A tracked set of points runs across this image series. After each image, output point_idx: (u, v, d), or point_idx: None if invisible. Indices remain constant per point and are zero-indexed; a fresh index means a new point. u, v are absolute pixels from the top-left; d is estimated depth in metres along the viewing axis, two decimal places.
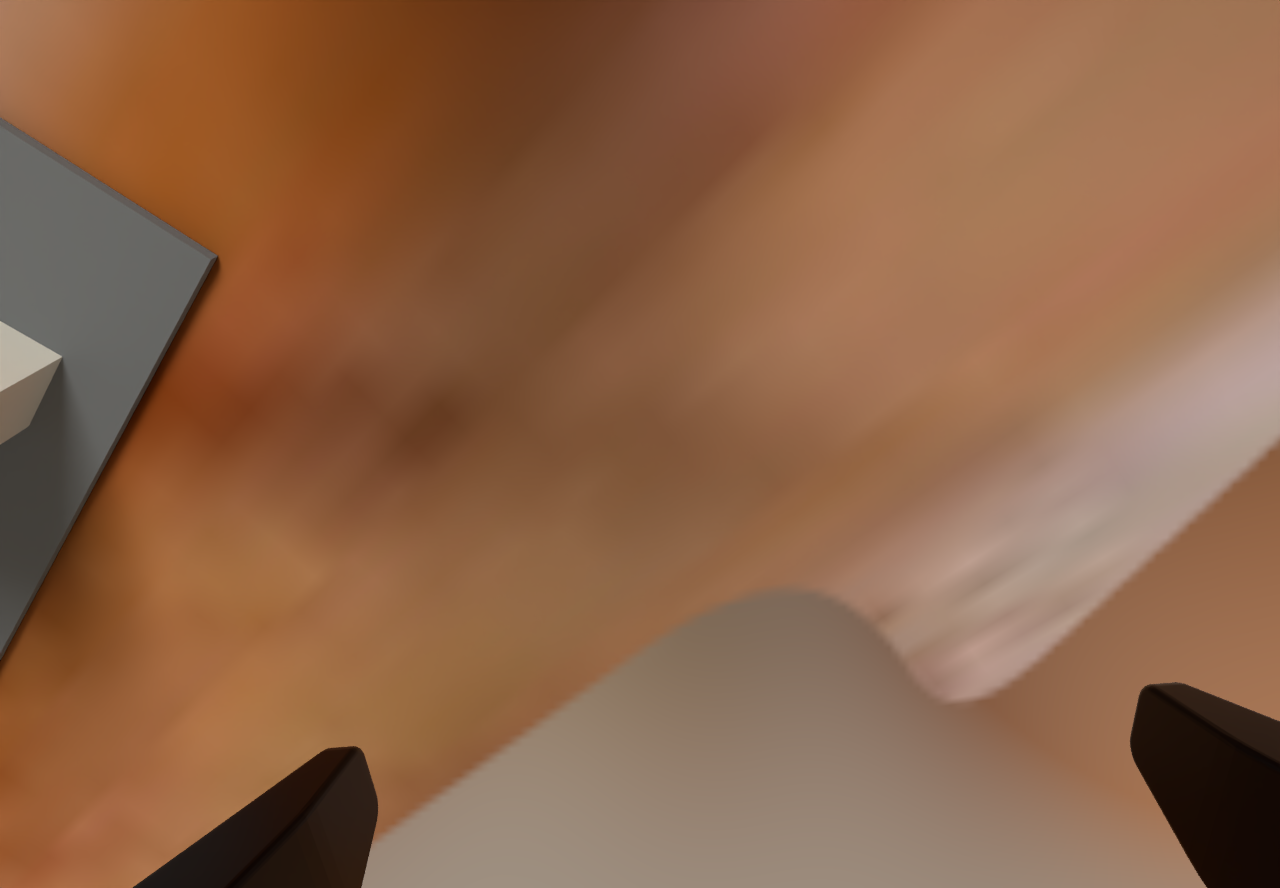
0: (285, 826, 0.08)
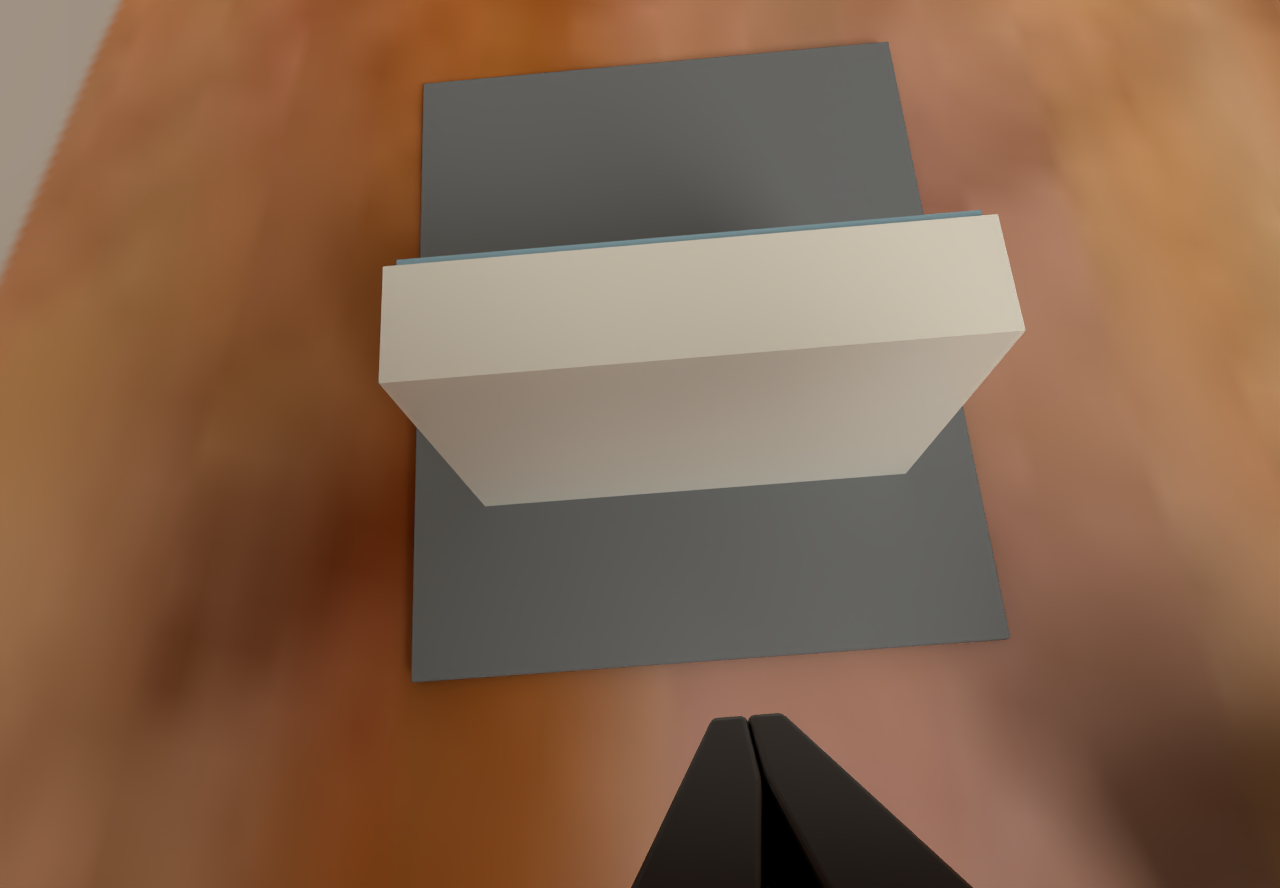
0: (753, 791, 0.08)
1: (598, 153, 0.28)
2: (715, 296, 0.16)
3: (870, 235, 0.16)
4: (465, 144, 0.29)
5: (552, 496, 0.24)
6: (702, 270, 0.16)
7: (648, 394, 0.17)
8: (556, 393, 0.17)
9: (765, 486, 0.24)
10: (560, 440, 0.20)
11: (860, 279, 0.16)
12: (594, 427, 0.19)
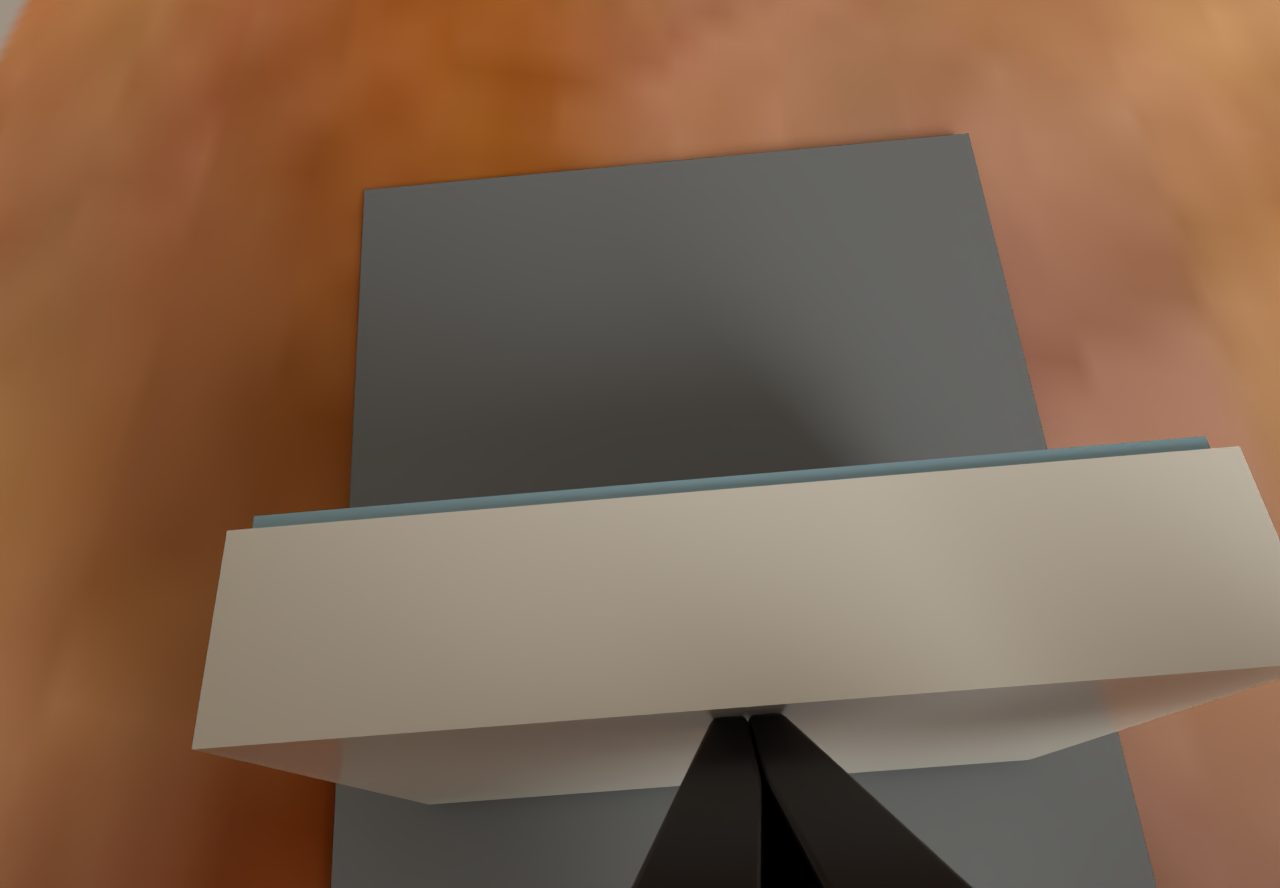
0: (753, 791, 0.08)
1: (591, 285, 0.21)
2: (776, 590, 0.10)
3: (1030, 482, 0.10)
4: (416, 272, 0.22)
5: (523, 795, 0.17)
6: (752, 542, 0.10)
7: (662, 735, 0.10)
8: (506, 741, 0.10)
9: None
10: (525, 767, 0.13)
11: (1022, 561, 0.09)
12: (575, 758, 0.12)
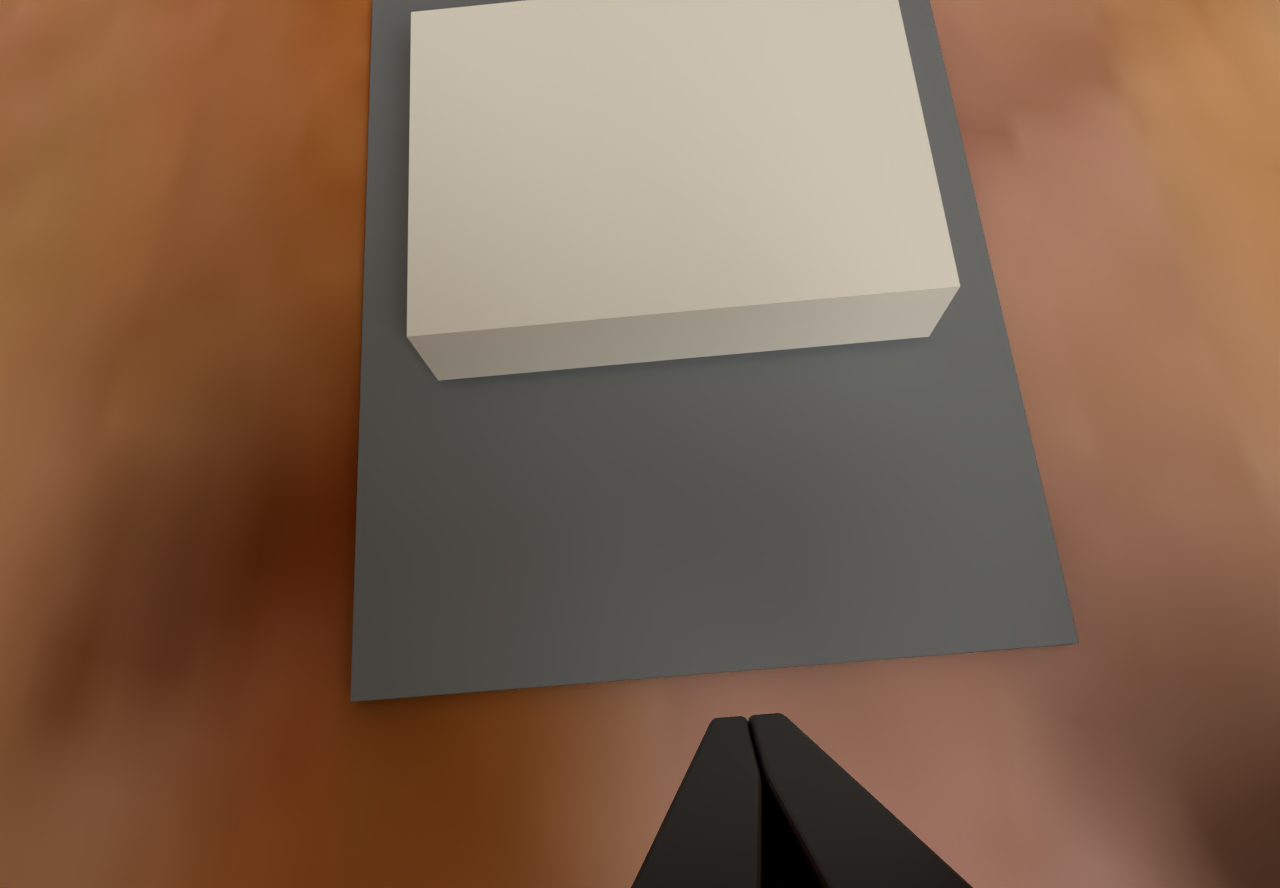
0: (753, 791, 0.08)
1: None
2: None
3: None
4: None
5: (497, 308, 0.19)
6: None
7: (613, 43, 0.21)
8: (537, 35, 0.21)
9: (778, 461, 0.20)
10: (530, 131, 0.20)
11: None
12: (563, 104, 0.20)
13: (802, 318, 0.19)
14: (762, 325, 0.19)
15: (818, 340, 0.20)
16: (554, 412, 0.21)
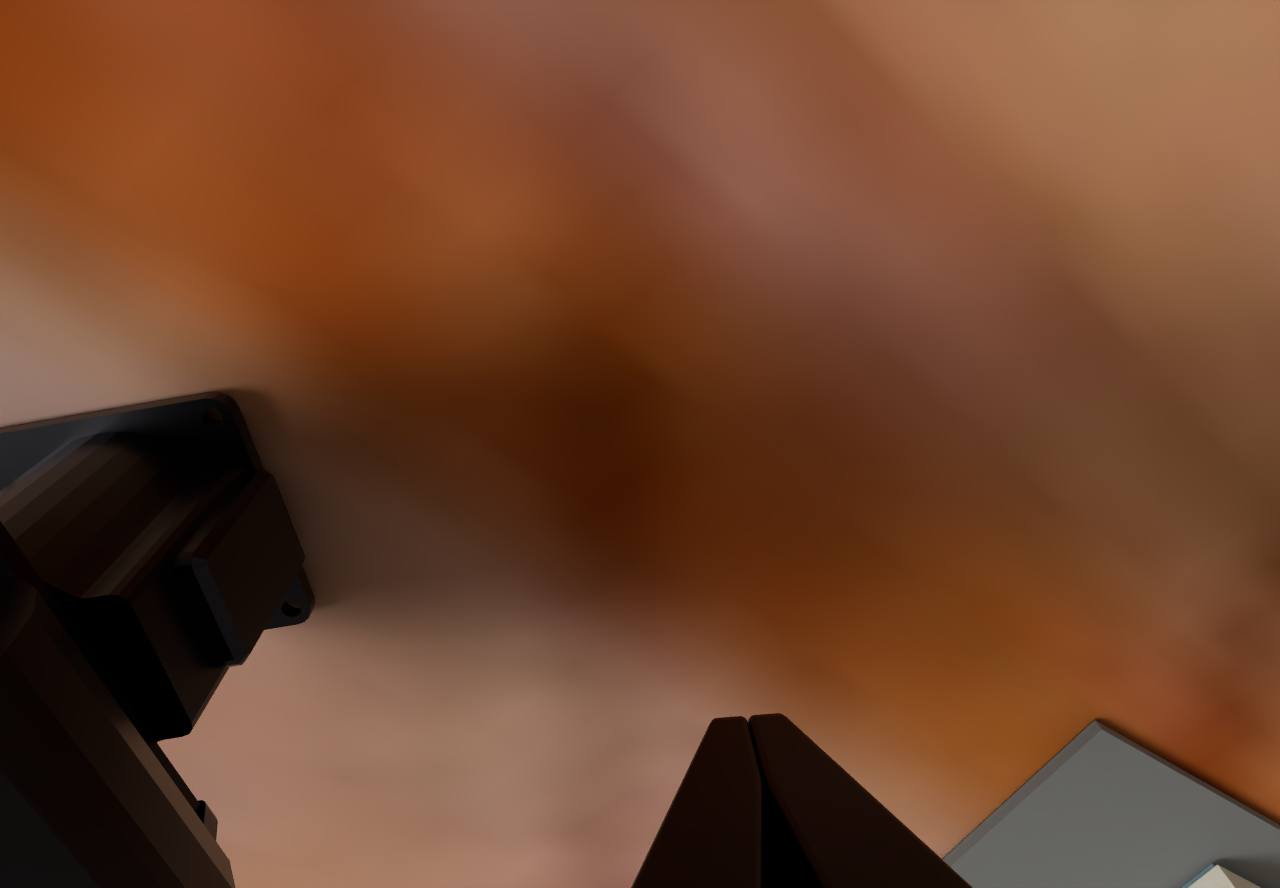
0: (753, 790, 0.08)
1: None
2: None
3: None
4: None
5: None
6: None
7: None
8: None
9: None
10: None
11: None
12: None
13: None
14: None
15: None
16: None
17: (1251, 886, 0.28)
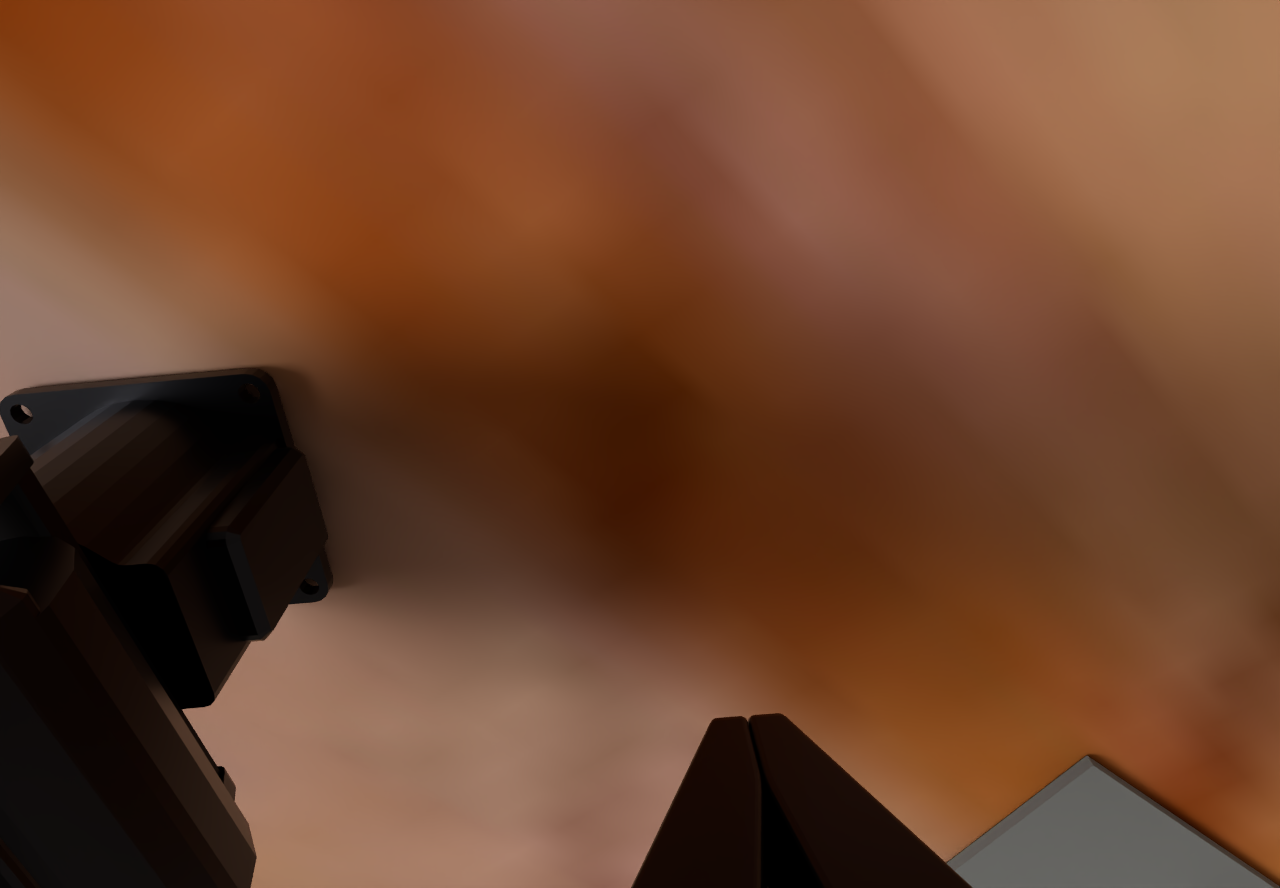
0: (753, 791, 0.08)
1: None
2: None
3: None
4: None
5: None
6: None
7: None
8: None
9: None
10: None
11: None
12: None
13: None
14: None
15: None
16: None
17: None
